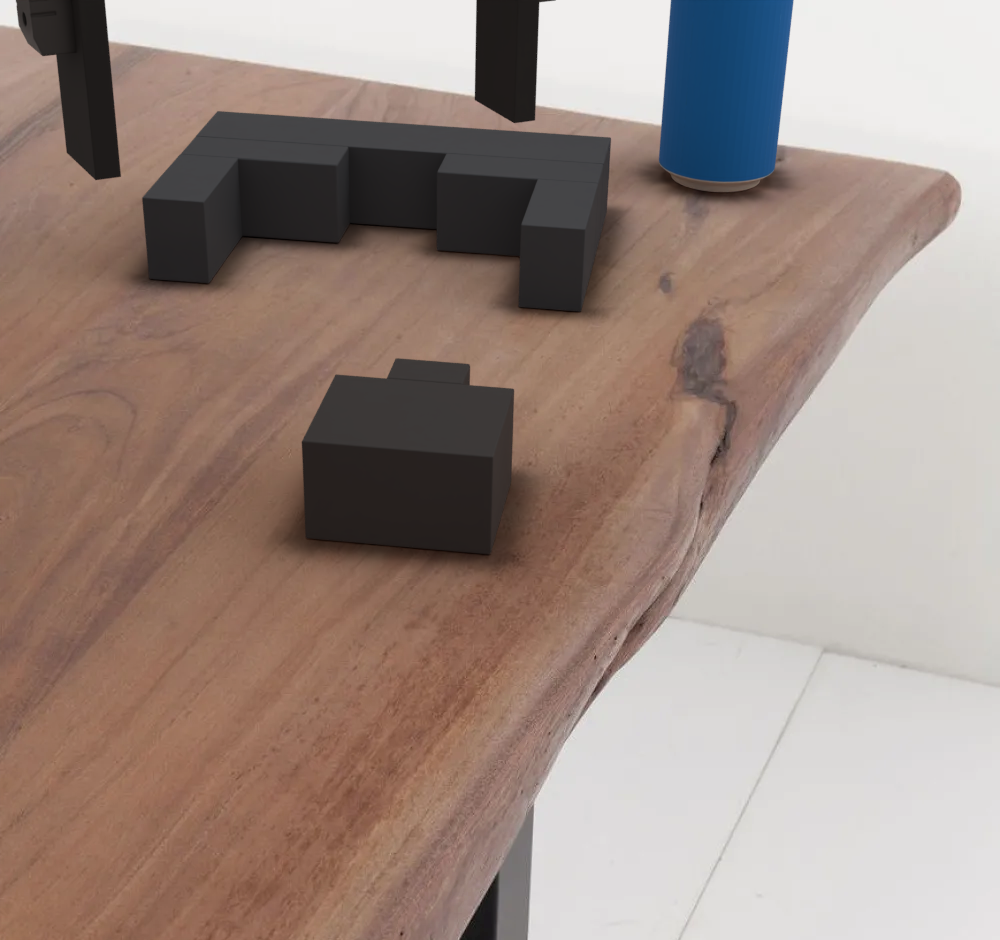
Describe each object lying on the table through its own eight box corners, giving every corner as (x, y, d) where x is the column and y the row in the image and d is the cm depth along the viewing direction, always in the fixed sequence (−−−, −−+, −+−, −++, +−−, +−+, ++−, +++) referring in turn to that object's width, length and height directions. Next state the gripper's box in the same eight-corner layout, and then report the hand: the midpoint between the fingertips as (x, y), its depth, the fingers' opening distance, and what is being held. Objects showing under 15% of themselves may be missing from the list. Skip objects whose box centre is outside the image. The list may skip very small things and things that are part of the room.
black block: (305, 538, 70) (301, 441, 68) (347, 445, 77) (345, 353, 74) (490, 555, 70) (493, 456, 67) (517, 459, 76) (520, 367, 74)
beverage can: (746, 156, 109) (769, -67, 102) (791, 192, 104) (819, -39, 97) (641, 163, 107) (657, -63, 100) (681, 200, 102) (701, -34, 95)
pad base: (148, 279, 91) (141, 197, 89) (221, 185, 102) (217, 110, 100) (581, 311, 89) (585, 229, 87) (606, 212, 100) (611, 137, 98)
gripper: (-227, -804, 38) (-69, 233, 50) (795, -730, 48) (717, 121, 60) (-292, -781, 43) (-134, 151, 55) (639, -718, 53) (597, 61, 65)
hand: (308, 137), depth 58 cm, fingers open, 13 cm apart
